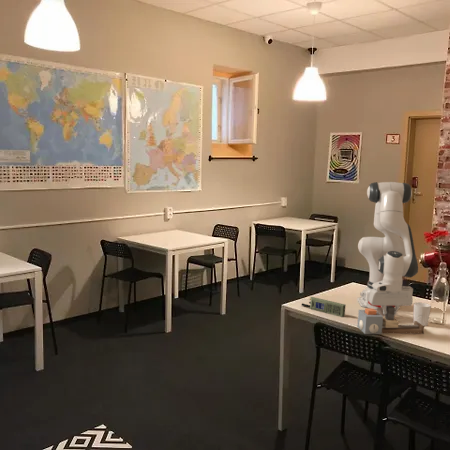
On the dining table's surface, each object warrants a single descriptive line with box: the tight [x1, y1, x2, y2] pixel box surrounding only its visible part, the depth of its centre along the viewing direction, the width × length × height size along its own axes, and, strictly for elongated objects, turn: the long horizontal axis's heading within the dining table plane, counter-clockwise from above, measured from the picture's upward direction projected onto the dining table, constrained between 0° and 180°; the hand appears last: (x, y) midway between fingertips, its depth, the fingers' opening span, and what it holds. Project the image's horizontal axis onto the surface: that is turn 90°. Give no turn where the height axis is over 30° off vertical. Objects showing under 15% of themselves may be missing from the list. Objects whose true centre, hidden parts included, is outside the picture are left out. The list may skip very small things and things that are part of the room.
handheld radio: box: [301, 296, 347, 318], centre depth 259 cm, size 7×3×25 cm
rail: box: [382, 321, 425, 335], centre depth 234 cm, size 8×21×4 cm, turn 95°
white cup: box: [412, 301, 432, 327], centre depth 245 cm, size 8×8×10 cm
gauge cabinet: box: [356, 309, 383, 335], centre depth 232 cm, size 10×8×8 cm
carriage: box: [382, 306, 400, 328], centre depth 233 cm, size 7×6×9 cm
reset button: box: [364, 307, 377, 315], centre depth 232 cm, size 4×4×3 cm
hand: (389, 314), depth 233 cm, fingers closed on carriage, 3 cm apart
